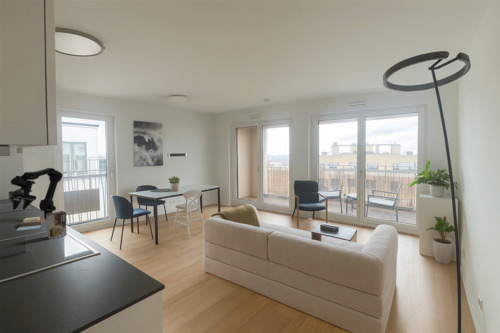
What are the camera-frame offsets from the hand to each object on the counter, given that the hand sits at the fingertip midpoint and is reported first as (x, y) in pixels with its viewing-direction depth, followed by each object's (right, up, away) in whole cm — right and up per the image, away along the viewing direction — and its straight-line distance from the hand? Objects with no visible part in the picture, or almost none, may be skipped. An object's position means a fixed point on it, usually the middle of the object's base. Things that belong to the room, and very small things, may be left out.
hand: (18, 209), depth 170 cm
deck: (+1, -13, +10) cm, 16 cm away
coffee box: (+38, -16, -13) cm, 43 cm away
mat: (+6, -14, +1) cm, 15 cm away
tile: (+2, -10, +8) cm, 13 cm away
